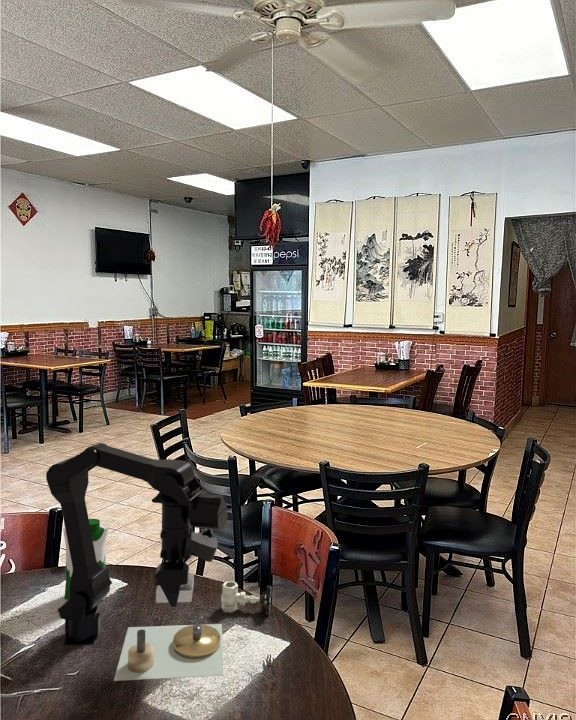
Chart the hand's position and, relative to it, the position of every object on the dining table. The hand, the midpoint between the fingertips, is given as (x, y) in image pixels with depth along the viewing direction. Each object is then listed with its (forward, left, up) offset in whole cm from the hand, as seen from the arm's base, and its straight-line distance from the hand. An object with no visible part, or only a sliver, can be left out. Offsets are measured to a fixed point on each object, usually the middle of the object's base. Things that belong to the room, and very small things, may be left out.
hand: (175, 597), depth 115 cm
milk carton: (-23, +25, -13) cm, 37 cm away
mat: (0, +1, -13) cm, 13 cm away
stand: (-6, -3, -12) cm, 14 cm away
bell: (+5, +3, -12) cm, 14 cm away
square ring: (0, 0, +1) cm, 1 cm away
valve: (+16, +16, -13) cm, 26 cm away
